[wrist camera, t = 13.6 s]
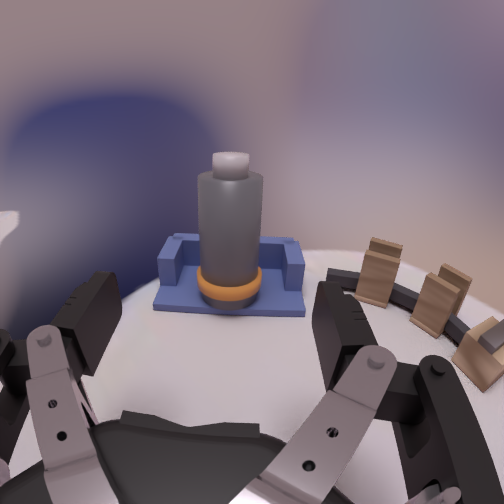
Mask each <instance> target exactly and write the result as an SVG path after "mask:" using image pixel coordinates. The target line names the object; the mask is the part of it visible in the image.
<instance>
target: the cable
mask: <svg viewBox="0 0 504 504" xmlns="http://www.w3.org/2000/svg"><path fill="white" fill-rule="evenodd" d="M359 277H360V273H358V272H352V271H345V270H338V269H332V268H328V271H327V277H326V281H334V282H339V283H340V285H341V287H345V288H352V289H357V285H358V281H359ZM419 295H420V294H419V293H416V292H414V291H412V290H410V289H408V288H405V287H403V286H401V285H399V284H396V283H394V284H393V288H392V291H391V294H390V297H389V299H390V300H392V301H395V302H397V303H399V304H401V305H403V306H405V307H407V308H409V309H412V310H414V308H415V305H416V303H417V300H418V297H419ZM443 330H444V331H446V332H447V333H448V334H449V335H450V336H451V337H452V338H453V339H454V340H455V341H456V342H457V343H458V344H460V343H461V341H462V339H463V337H464V335H465V333H466V332H467V331H469V330H470V328H469V327H468V326H467V325H466V324H464V323H463V322H462V321H461V320H460V319H459V318H457V317H456V316H455V315H454V314H453V313H452V312H451V314H450V316H449V318H448V321H447V323H446V325H445V327H444V329H443Z"/></svg>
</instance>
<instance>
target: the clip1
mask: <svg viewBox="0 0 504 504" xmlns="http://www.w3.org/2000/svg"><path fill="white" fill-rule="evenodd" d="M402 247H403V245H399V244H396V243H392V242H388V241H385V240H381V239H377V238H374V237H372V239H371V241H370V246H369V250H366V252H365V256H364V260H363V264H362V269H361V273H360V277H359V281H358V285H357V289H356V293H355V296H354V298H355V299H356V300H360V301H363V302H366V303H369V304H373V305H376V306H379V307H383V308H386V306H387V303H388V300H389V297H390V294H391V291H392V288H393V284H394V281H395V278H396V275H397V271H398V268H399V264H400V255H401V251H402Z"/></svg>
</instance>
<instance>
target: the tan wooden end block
mask: <svg viewBox="0 0 504 504" xmlns="http://www.w3.org/2000/svg"><path fill="white" fill-rule="evenodd" d="M451 360H452V361H453V362H454V363H455V364H456V365H457V366H458V367H459V368H460V369H461V370H462V371H463V372H464V373H465V374H466V375H467V376H468V377H469V379H470V380H471V381H472V382H473V383H474V384H475V385H476V386H477V387H478V388H479V389H480V390H481V391H482V392H484V391H486V390H487V389H488V388H489V387H490V386H491V385H492V384H493V383H494V382H496V381H497V380H498V379H499V378H500V377H501V376H502V375H503V374H504V319H503V320H502V321H500V322H499V321H498V320H496V319H495V318H494V317H493V316H492V317H490V318H488V319H487V320H485V321H484V322H482V323H480V324H479V325H477V326H475V327H474V328H472V329H470V330H469V331H467V332H466V333H465V335H464V337H463V339H462V341H461V343H460V345H459V347H458V348H457V350H456V352H455V354H454V356H453V357H452V359H451Z"/></svg>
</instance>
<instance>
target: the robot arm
mask: <svg viewBox="0 0 504 504" xmlns="http://www.w3.org/2000/svg"><path fill="white" fill-rule="evenodd" d="M363 312H364V311H363V309H362V307H361V305H360V302H359V301H357V300H356V299H355V298H354V297H353V296H352V295H351V294H344V293H343V290H342V288H341V285H340V283H339V282H334V281H320V282H319V283H318V287H317V292H316V297H315V303H314V308H313V313H312V329H313V333H314V338H315V342H316V347H317V351H318V356H319V360H320V365H321V370H322V374H323V379H324V384H325V389H326V392H327V393H326V394H325V395H324V397H323V398H322V399H321V401H320V402H319V404H318V405H317V406H316V408H315V409H314V410H313V412H312V413H311V414H310V416H309V417H308V418H307V419H306V421H305V422H304V423H303V425H302V426H301V427H300V428H299V430H298V431H297V432H296V433H295V435H294V436H293V437H292V438H291V440H290V441H289V442H288V443H285V442H283V441H282V440H280V439H277V438H275V437H273V436H270V435H267V434H263V433H260V431H259V424H257V423H227V422H223V423H217V424H210V425H202V426H194V427H186V426H182V425H179V424H176V423H173V422H171V421H168V420H165V419H162V418H160V417H157V416H155V415H148V414H142V413H136V412H130V411H125V410H123V412H122V415H121V418H120V419H116V420H110V421H106V422H102V423H100V424H99V422H98V420H97V418H96V416H95V413H94V411H93V408H92V406H91V403H90V400H89V398H88V395H87V392H86V390H85V387H84V384H83V382H82V380H81V376H82V374H83V375H88V376H94V373H95V371H96V369H97V367H98V365H99V362H100V360H101V358H102V356H103V354H104V352H105V349H106V347H107V345H108V343H109V341H110V339H111V337H112V335H113V333H114V331H115V329H116V327H117V325H118V323H119V321H120V318H121V315H122V302H121V298H120V293H119V289H118V284H117V279H116V275H115V274H114V273H113V272H102V271H96V272H95V273H94V274H93V276H92V277H91V278H90V280H89V281H88V282H84V283H83V284H82V285H80V286H79V287H77V288H76V289H75V290H74V291H73V293H72V294H71V295H70V298H68V300H67V301H66V302H65V305H63V306H62V308H61V309H60V311H59V312H58V313H57V315H56V316H55V318H54V319H53V320H52V322H51V323H50V325H44V326H41V327H38V328H36V329H35V330H33V331H32V332H31V333H30V334H29V336H28V338H27V339H23V340H12V339H11V337H10V335H9V333H8V332H7V331H6V330H3V329H0V381H1V383H2V384H3V388H2V390H1V392H0V504H354V503H353V502H352V501H351V500H350V499H348V498H347V497H346V496H345V495H344V494H343V493H341V492H340V491H339V490H338V489H337V488H336V487H335V486H334V484H335V482H336V481H337V479H338V478H339V476H340V475H341V473H342V472H343V470H344V469H345V467H346V465H347V464H348V462H349V460H350V459H351V457H352V456H353V454H354V452H355V450H356V449H357V447H358V445H359V444H360V442H361V440H362V438H363V437H364V435H365V433H366V431H367V429H368V427H369V426H370V424H371V422H372V420H373V419H379V420H385V421H391V422H392V426H393V430H394V434H395V438H396V443H397V447H398V451H399V456H400V460H401V465H402V469H403V474H404V479H405V484H406V489H407V495H408V500H409V501H407V502H406V503H405V504H504V495H503V492H502V488H501V485H500V481H499V478H498V475H497V472H496V469H495V466H494V463H493V460H492V457H491V454H490V452H489V449H488V446H487V443H486V441H485V438H484V435H483V433H482V430H481V428H480V425H479V423H478V420H477V418H476V416H475V413H474V411H473V409H472V406H471V404H470V402H469V399H468V397H467V395H466V393H465V391H464V388H463V386H462V384H461V382H460V380H459V378H458V376H457V374H456V371H455V369H454V367H453V366H452V364H451V363H450V362H449V361H448V360H446V359H445V358H443V357H440V356H437V355H428V356H426V357H424V358H423V359H422V360H421V361H420V363H419V365H412V364H407V363H401V362H397V360H396V358H395V356H394V355H393V353H392V352H390V351H389V350H388V349H386V348H384V347H381V346H378V343H377V341H376V339H375V336H374V334H373V332H372V329H371V327H370V325H369V323H368V321H367V318H366V316H365V314H364V313H363ZM29 410H31V415H32V420H33V424H34V429H35V433H36V437H37V441H38V445H39V449H40V452H41V456H42V460H41V461H39V462H38V463H36V464H35V465H33V466H31V467H30V468H28V469H27V470H25V471H23V472H22V473H20V474H19V475H17V476H15V477H14V478H12V479H11V478H10V470H9V467H8V465H9V462H10V459H11V456H12V453H13V451H14V448H15V445H16V442H17V440H18V437H19V434H20V432H21V429H22V427H23V424H24V422H25V419H26V417H27V414H28V412H29Z"/></svg>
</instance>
